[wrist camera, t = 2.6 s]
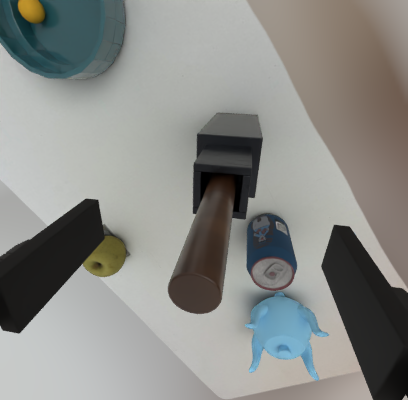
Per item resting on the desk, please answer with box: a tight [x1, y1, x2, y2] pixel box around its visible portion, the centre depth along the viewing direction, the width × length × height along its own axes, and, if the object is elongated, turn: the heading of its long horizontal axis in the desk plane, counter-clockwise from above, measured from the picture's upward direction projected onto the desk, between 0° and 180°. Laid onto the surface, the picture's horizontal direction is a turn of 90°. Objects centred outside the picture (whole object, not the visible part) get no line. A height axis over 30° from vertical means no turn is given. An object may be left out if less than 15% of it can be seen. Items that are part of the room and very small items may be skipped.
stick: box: [168, 173, 238, 314], centre depth 17 cm, size 2×2×16 cm
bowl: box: [0, 0, 125, 79], centre depth 32 cm, size 16×16×6 cm
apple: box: [83, 236, 126, 277], centre depth 49 cm, size 8×8×7 cm
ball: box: [18, 0, 45, 24], centre depth 33 cm, size 3×3×3 cm
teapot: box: [245, 292, 329, 381], centre depth 48 cm, size 13×13×10 cm
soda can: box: [247, 214, 297, 291], centre depth 39 cm, size 7×7×12 cm
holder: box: [193, 113, 263, 219], centre depth 28 cm, size 6×6×22 cm
